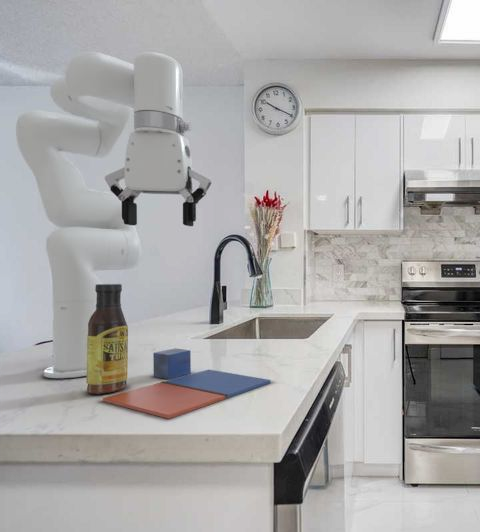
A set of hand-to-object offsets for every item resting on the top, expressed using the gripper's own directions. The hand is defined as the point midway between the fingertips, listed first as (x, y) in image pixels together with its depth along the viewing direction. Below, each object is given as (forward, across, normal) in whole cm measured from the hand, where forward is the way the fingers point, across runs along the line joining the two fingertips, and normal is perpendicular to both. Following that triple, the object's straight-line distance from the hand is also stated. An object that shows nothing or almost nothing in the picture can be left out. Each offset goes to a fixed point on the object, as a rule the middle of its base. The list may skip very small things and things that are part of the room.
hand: (159, 225), depth 74 cm
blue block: (+31, +3, -14) cm, 34 cm away
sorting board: (+30, -5, -1) cm, 31 cm away
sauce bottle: (+31, +11, -5) cm, 33 cm away
